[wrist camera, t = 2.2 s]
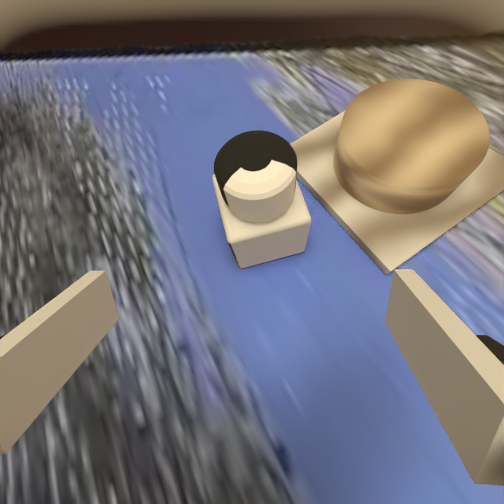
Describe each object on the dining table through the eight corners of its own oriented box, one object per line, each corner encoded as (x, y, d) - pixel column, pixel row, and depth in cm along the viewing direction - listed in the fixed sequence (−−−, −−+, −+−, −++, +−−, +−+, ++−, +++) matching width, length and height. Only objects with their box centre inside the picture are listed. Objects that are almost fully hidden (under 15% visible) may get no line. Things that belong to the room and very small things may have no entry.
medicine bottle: (225, 212, 32) (195, 132, 21) (286, 196, 32) (288, 107, 21) (239, 270, 30) (214, 213, 18) (305, 252, 30) (321, 184, 18)
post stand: (278, 157, 34) (278, 117, 29) (392, 88, 37) (413, 38, 31) (386, 275, 28) (412, 252, 22) (516, 181, 30) (569, 140, 25)
